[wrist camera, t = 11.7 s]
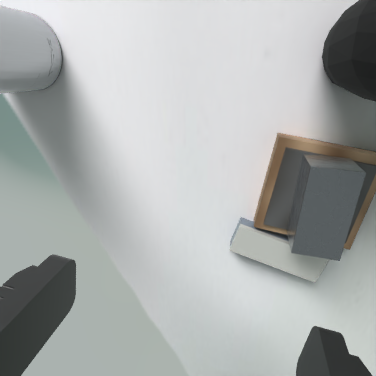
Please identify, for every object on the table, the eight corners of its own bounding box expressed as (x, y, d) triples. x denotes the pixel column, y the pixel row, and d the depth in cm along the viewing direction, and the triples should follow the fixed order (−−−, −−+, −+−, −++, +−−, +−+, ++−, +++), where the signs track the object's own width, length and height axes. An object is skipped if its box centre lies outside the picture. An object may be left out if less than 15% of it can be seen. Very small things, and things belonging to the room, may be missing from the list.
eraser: (231, 239, 43) (229, 250, 41) (241, 216, 42) (240, 226, 39) (311, 269, 43) (315, 282, 40) (324, 246, 41) (329, 259, 38)
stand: (253, 218, 41) (253, 229, 38) (277, 132, 36) (279, 138, 34) (344, 239, 40) (351, 252, 37) (381, 152, 35) (392, 160, 32)
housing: (303, 153, 34) (310, 166, 29) (350, 158, 33) (366, 172, 28) (286, 230, 37) (291, 253, 33) (328, 236, 37) (339, 260, 32)
